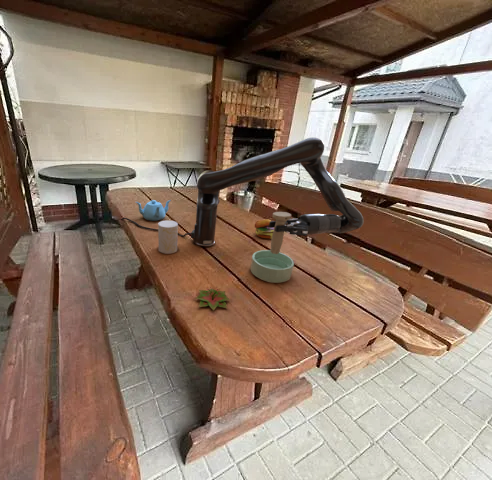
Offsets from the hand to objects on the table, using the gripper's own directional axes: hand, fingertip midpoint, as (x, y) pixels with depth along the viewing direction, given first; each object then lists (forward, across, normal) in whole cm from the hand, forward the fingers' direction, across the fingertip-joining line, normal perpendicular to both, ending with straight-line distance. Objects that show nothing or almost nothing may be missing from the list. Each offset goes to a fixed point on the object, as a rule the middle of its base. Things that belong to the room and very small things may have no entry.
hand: (272, 226), depth 91 cm
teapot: (+33, -69, +21) cm, 79 cm away
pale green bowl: (-4, -2, +20) cm, 21 cm away
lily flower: (+24, +10, +20) cm, 33 cm away
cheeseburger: (-20, -36, +21) cm, 46 cm away
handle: (-3, 0, +11) cm, 11 cm away
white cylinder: (+32, -28, +20) cm, 47 cm away
